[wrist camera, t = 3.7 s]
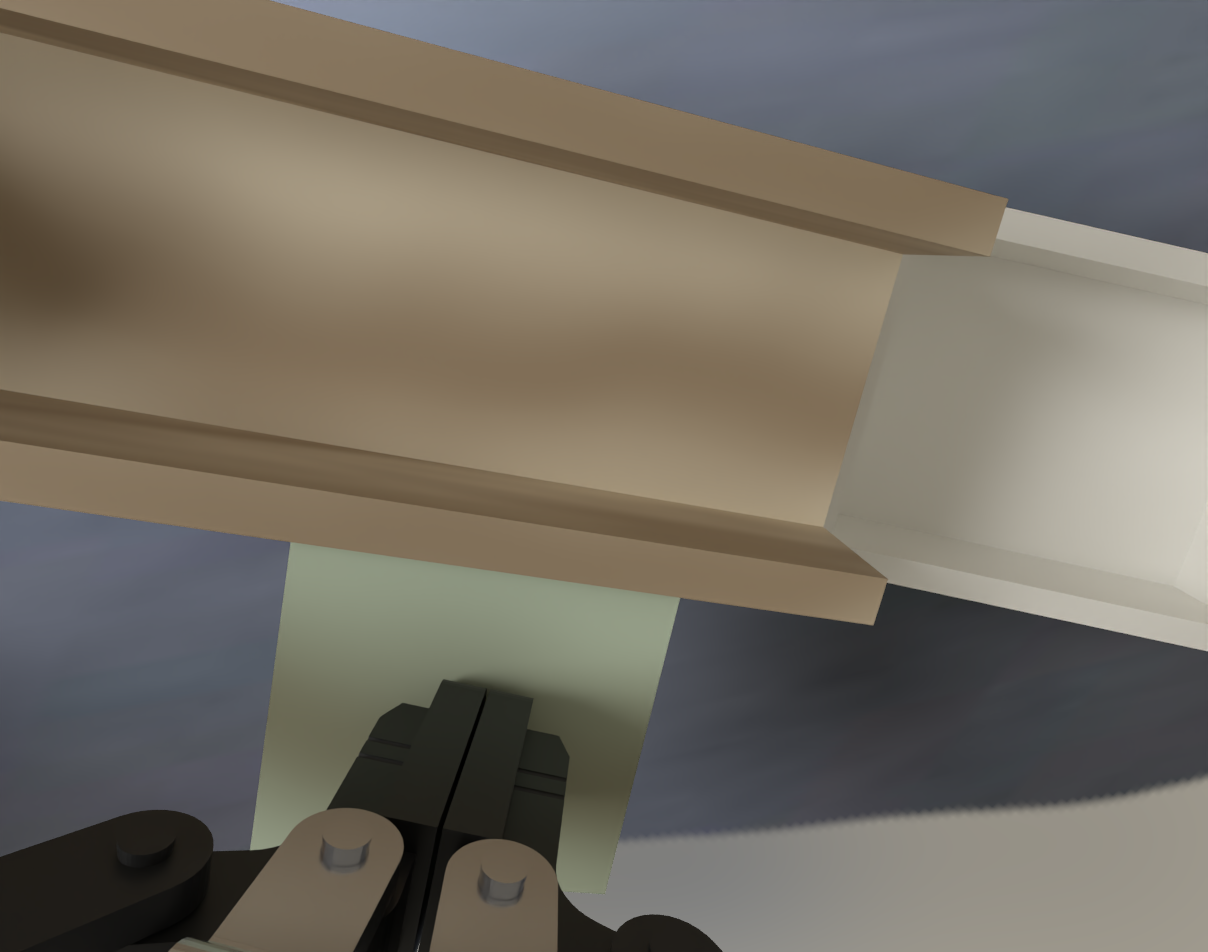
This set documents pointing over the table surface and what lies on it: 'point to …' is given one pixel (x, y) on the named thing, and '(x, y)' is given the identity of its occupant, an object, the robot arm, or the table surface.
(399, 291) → the tilting chute
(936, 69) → the table surface
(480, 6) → the table surface
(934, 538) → the bin
